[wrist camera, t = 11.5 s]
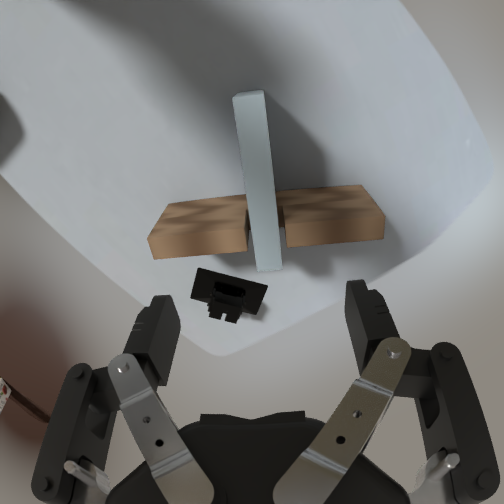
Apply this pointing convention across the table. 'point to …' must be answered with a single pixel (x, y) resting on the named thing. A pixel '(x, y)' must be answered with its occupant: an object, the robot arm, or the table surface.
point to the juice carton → (3, 393)
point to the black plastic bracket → (227, 294)
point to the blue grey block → (258, 177)
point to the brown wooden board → (289, 216)
